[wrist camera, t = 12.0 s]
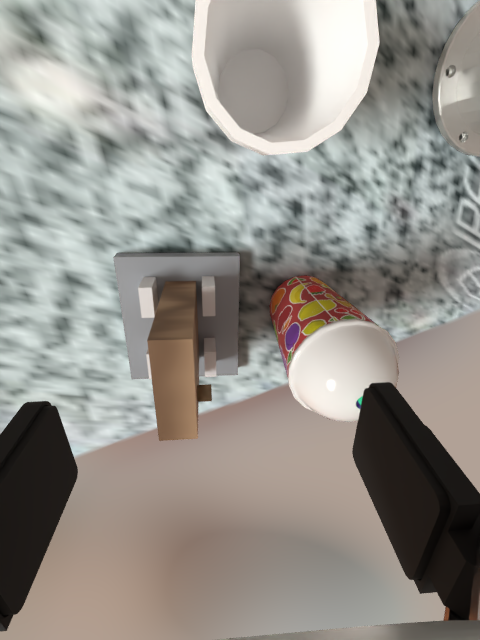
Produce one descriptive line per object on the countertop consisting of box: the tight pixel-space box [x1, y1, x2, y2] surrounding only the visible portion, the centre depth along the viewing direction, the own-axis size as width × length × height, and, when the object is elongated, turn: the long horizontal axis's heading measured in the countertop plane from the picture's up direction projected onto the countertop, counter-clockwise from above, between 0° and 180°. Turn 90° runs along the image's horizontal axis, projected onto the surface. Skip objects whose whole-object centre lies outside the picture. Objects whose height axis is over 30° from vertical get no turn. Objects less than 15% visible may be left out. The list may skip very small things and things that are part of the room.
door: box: [147, 281, 212, 441], centre depth 30 cm, size 4×9×12 cm, turn 179°
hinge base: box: [114, 252, 240, 379], centre depth 34 cm, size 12×14×4 cm
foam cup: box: [192, 0, 380, 155], centre depth 22 cm, size 10×9×13 cm
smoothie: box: [269, 275, 399, 422], centre depth 28 cm, size 8×8×20 cm
